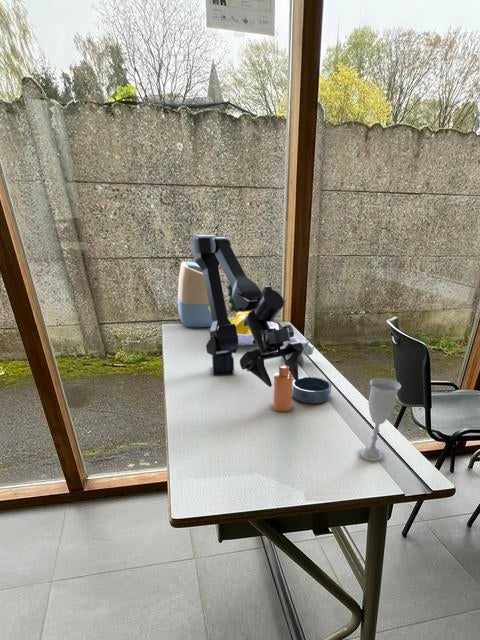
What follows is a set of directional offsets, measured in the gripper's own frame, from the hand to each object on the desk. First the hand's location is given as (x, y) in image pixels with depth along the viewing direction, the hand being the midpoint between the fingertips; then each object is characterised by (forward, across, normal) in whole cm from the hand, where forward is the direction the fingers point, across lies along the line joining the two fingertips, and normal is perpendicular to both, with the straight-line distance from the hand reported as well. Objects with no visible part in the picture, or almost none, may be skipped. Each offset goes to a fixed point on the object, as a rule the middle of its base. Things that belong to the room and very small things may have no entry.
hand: (284, 383), depth 120 cm
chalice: (+29, +2, -18) cm, 34 cm away
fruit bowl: (-38, +26, +48) cm, 66 cm away
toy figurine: (-54, +47, +64) cm, 96 cm away
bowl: (+4, +12, +7) cm, 15 cm away
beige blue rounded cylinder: (-59, +22, +69) cm, 93 cm away
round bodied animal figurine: (-16, +29, +27) cm, 43 cm away
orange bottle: (+5, 0, +6) cm, 7 cm away
